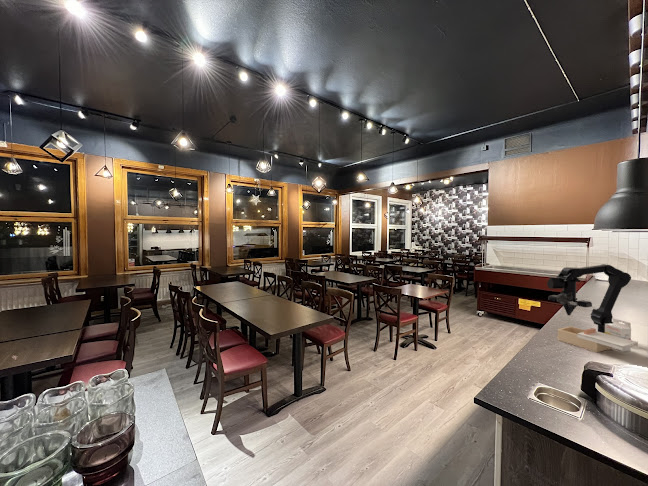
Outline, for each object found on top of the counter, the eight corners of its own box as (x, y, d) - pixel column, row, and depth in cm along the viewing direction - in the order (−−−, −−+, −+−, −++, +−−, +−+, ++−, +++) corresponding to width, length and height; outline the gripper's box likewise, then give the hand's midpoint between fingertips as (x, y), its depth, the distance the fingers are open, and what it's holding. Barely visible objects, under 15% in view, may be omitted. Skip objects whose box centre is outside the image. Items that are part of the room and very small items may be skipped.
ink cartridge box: (603, 344, 144) (604, 317, 143) (612, 344, 144) (612, 317, 144) (622, 351, 135) (622, 323, 135) (631, 351, 136) (632, 322, 135)
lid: (592, 333, 146) (592, 326, 146) (637, 346, 130) (638, 337, 130) (577, 337, 142) (577, 329, 142) (622, 350, 126) (622, 341, 126)
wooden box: (570, 336, 155) (571, 326, 155) (610, 348, 139) (611, 337, 139) (557, 339, 151) (557, 329, 151) (596, 352, 135) (597, 340, 135)
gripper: (542, 287, 163) (542, 312, 163) (580, 293, 145) (580, 321, 146) (554, 285, 166) (554, 310, 167) (593, 291, 149) (592, 319, 149)
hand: (568, 315), depth 157 cm, fingers closed
